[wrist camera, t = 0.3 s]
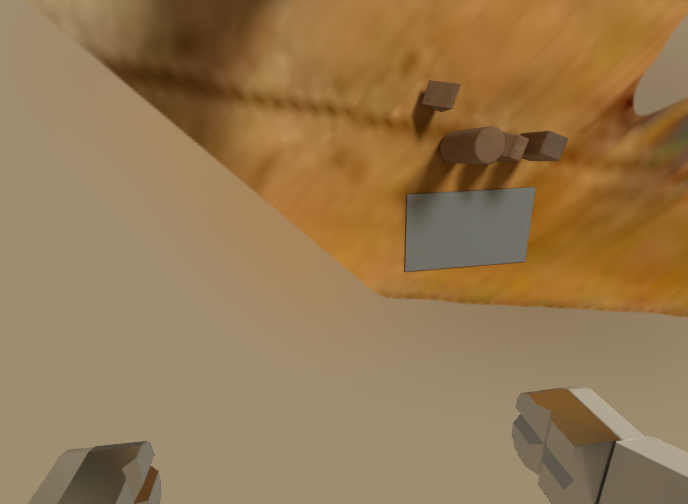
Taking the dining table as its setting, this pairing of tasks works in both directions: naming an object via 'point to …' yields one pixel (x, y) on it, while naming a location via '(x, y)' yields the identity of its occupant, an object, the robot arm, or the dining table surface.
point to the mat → (467, 228)
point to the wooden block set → (489, 137)
